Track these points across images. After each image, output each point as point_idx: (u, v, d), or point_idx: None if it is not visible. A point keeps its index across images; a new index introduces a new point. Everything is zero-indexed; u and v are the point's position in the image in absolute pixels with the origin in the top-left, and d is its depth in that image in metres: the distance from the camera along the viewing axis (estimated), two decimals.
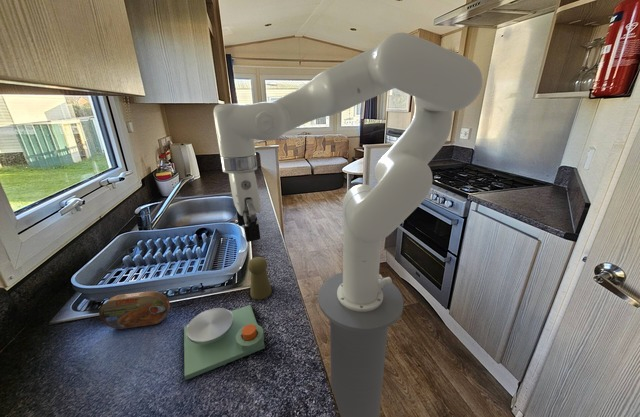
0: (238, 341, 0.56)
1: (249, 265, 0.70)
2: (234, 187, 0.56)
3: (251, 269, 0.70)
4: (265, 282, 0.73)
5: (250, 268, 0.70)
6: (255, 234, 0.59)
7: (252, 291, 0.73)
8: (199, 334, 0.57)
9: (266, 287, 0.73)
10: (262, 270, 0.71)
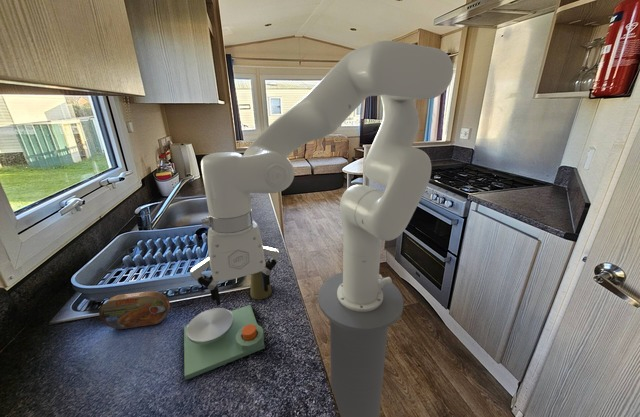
0: (238, 341, 0.56)
1: None
2: None
3: None
4: None
5: None
6: (211, 296, 0.52)
7: (252, 291, 0.73)
8: (199, 334, 0.57)
9: None
10: None
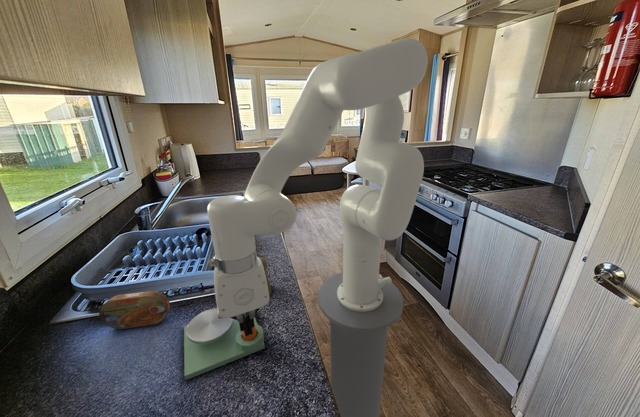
0: (238, 341, 0.56)
1: None
2: None
3: None
4: None
5: None
6: (240, 328, 0.56)
7: None
8: (199, 334, 0.57)
9: None
10: None
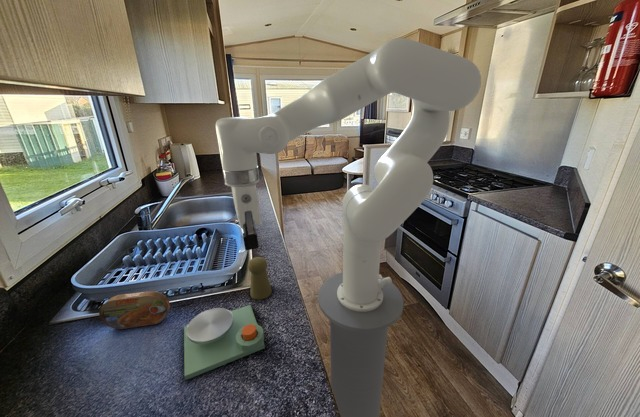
0: (238, 341, 0.56)
1: (249, 265, 0.70)
2: (235, 200, 0.56)
3: (251, 269, 0.70)
4: (265, 282, 0.73)
5: (250, 268, 0.70)
6: (253, 243, 0.63)
7: (252, 291, 0.73)
8: (199, 334, 0.57)
9: (266, 287, 0.73)
10: (262, 270, 0.71)
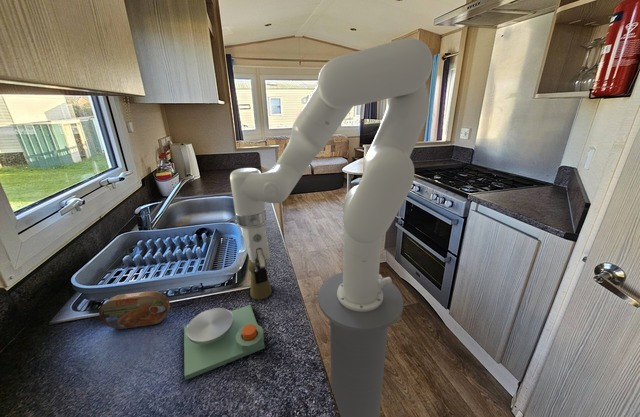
0: (238, 341, 0.56)
1: (249, 265, 0.70)
2: (247, 239, 0.65)
3: (251, 269, 0.70)
4: (265, 282, 0.73)
5: (250, 268, 0.70)
6: (263, 277, 0.70)
7: (252, 291, 0.73)
8: (199, 334, 0.57)
9: (266, 287, 0.73)
10: None
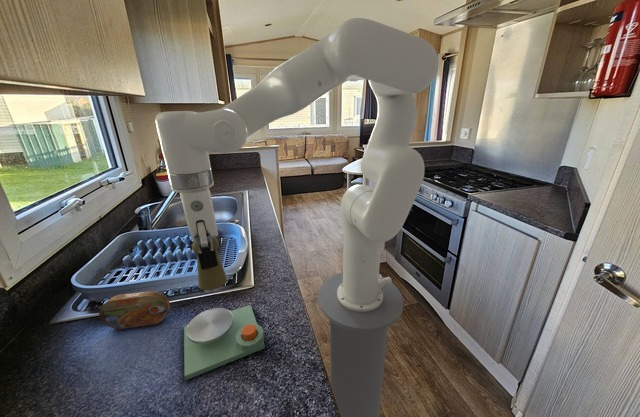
0: (238, 341, 0.56)
1: (193, 245, 0.54)
2: (183, 208, 0.48)
3: (195, 250, 0.53)
4: (216, 268, 0.56)
5: (194, 249, 0.54)
6: (211, 261, 0.53)
7: (199, 280, 0.56)
8: (199, 334, 0.57)
9: (218, 275, 0.56)
10: None
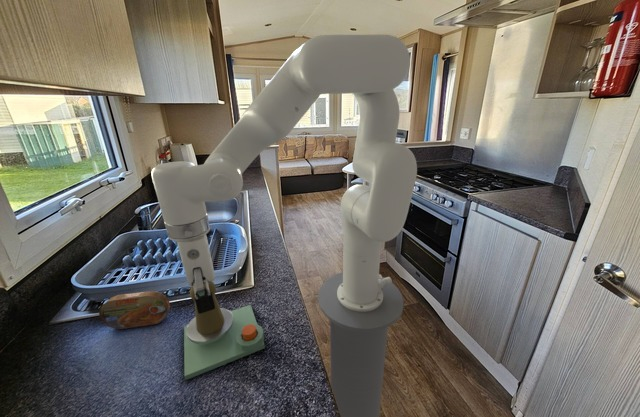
0: (238, 341, 0.56)
1: (191, 291, 0.55)
2: None
3: (193, 297, 0.55)
4: (213, 312, 0.57)
5: (191, 295, 0.55)
6: (208, 305, 0.52)
7: (197, 323, 0.58)
8: (199, 334, 0.57)
9: (215, 318, 0.58)
10: None
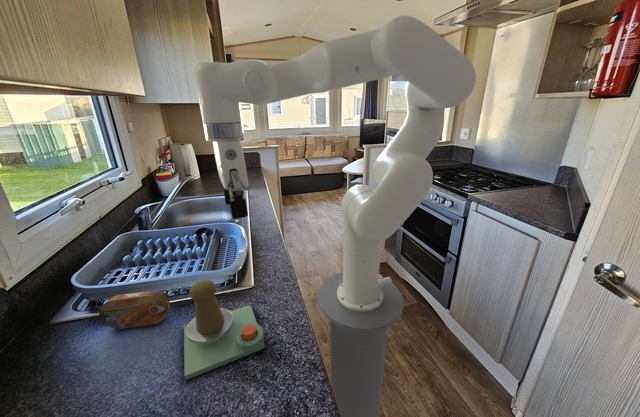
0: (238, 341, 0.56)
1: (191, 291, 0.55)
2: (218, 157, 0.51)
3: (193, 297, 0.55)
4: (213, 312, 0.57)
5: (191, 295, 0.55)
6: (242, 210, 0.54)
7: (197, 323, 0.58)
8: (199, 334, 0.57)
9: (215, 318, 0.58)
10: (207, 298, 0.55)
